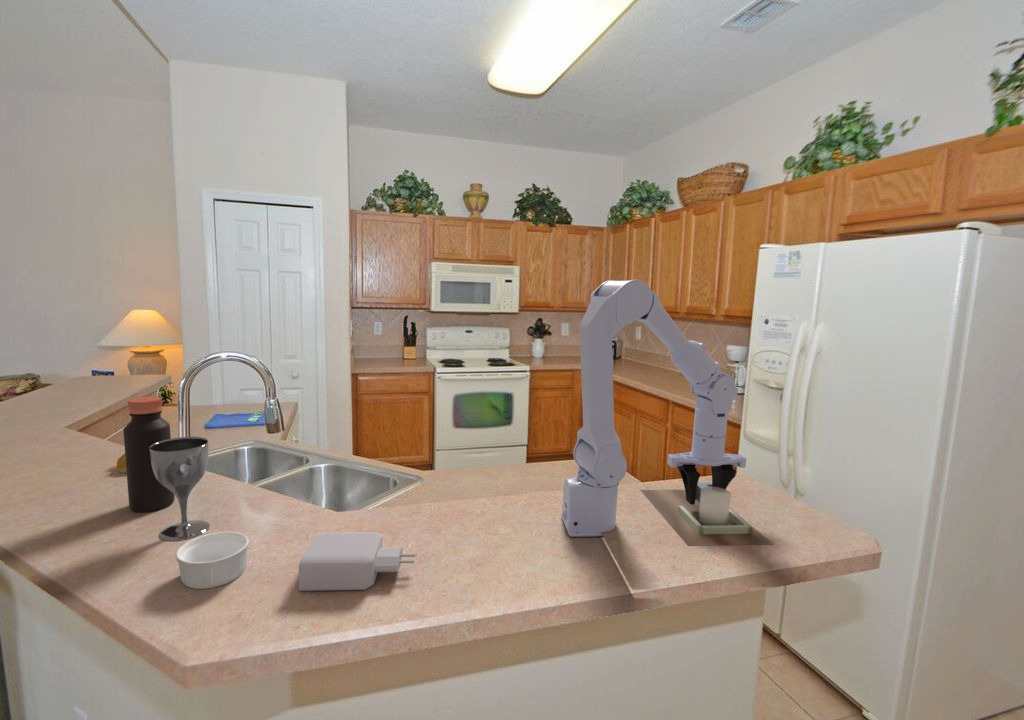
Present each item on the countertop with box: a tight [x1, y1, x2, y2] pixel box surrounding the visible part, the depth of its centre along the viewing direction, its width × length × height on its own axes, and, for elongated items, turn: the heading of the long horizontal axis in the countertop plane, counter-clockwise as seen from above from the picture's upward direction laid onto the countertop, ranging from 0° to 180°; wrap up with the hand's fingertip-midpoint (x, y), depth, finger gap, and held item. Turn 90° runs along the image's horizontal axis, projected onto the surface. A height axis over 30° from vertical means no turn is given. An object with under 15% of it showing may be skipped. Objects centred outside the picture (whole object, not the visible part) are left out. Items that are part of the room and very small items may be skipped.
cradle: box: [678, 506, 753, 534], centre depth 91 cm, size 10×9×1 cm
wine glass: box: [150, 436, 211, 542], centre depth 82 cm, size 8×8×15 cm
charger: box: [298, 531, 416, 592], centre depth 72 cm, size 5×9×15 cm
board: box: [640, 489, 774, 547], centre depth 94 cm, size 15×23×1 cm, turn 5°
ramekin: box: [175, 531, 250, 590], centre depth 71 cm, size 9×9×4 cm
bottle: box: [123, 396, 175, 513], centre depth 90 cm, size 7×7×20 cm
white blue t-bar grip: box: [695, 481, 732, 526], centre depth 92 cm, size 9×5×6 cm, turn 3°
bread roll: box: [116, 453, 127, 474], centre depth 110 cm, size 8×9×4 cm
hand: (702, 502), depth 95 cm, fingers closed on white blue t-bar grip, 4 cm apart
